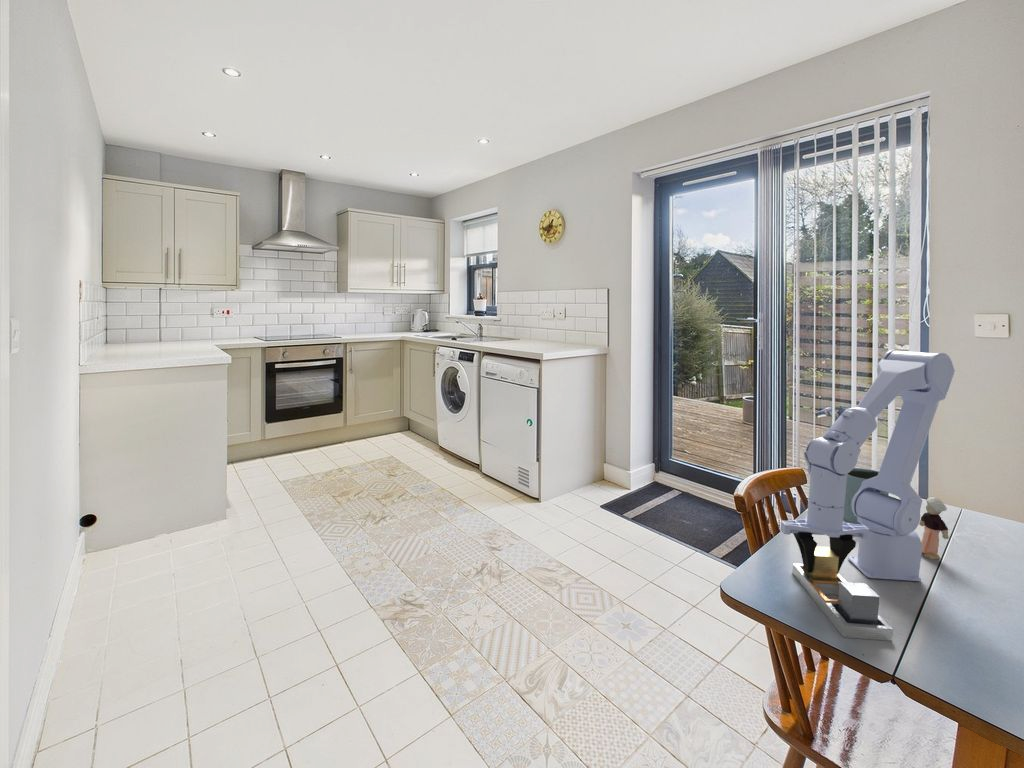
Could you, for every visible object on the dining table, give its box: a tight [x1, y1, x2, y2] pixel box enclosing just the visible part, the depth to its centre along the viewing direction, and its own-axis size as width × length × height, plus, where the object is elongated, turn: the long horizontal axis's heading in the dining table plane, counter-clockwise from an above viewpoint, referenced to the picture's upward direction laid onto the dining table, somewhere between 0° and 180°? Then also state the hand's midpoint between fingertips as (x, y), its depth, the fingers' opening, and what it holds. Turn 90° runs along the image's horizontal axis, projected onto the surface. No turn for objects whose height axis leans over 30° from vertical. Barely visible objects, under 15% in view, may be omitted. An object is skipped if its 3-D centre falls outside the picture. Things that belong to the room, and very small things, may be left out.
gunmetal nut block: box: [837, 581, 881, 625], centre depth 81 cm, size 4×4×6 cm
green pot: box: [843, 467, 890, 525], centre depth 122 cm, size 10×10×12 cm
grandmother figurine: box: [919, 496, 950, 560], centre depth 104 cm, size 8×4×13 cm, turn 5°
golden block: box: [804, 546, 839, 582], centre depth 94 cm, size 4×4×6 cm
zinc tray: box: [791, 562, 894, 642], centre depth 88 cm, size 7×20×2 cm, turn 172°
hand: (820, 570), depth 94 cm, fingers closed on golden block, 4 cm apart
